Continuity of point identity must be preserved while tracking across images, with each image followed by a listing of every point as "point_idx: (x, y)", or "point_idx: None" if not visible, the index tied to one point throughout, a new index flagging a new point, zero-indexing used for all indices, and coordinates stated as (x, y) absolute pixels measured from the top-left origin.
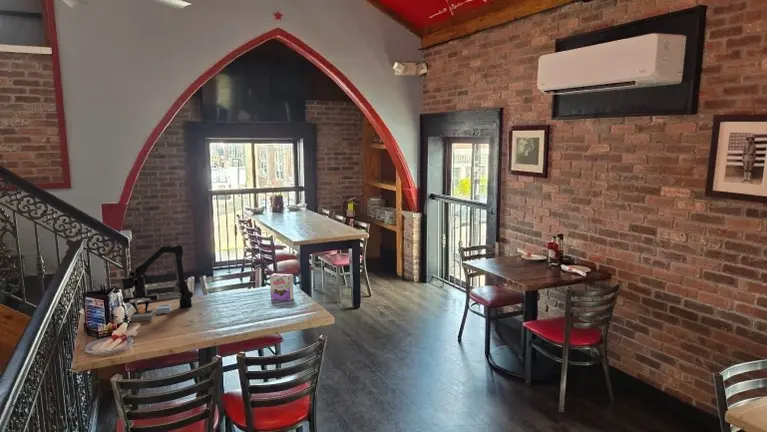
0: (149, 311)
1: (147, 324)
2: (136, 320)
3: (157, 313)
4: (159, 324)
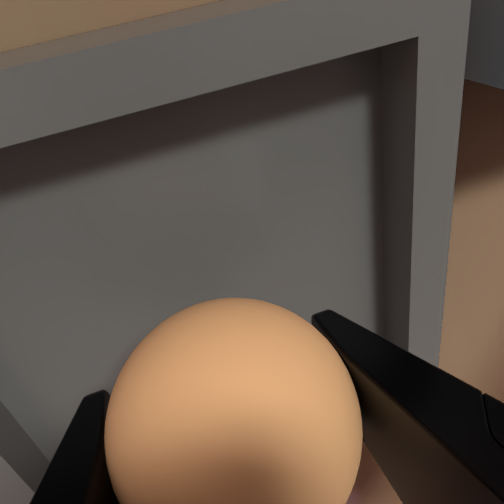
0: (304, 58)
1: (373, 485)
2: None
3: (472, 73)
4: None
